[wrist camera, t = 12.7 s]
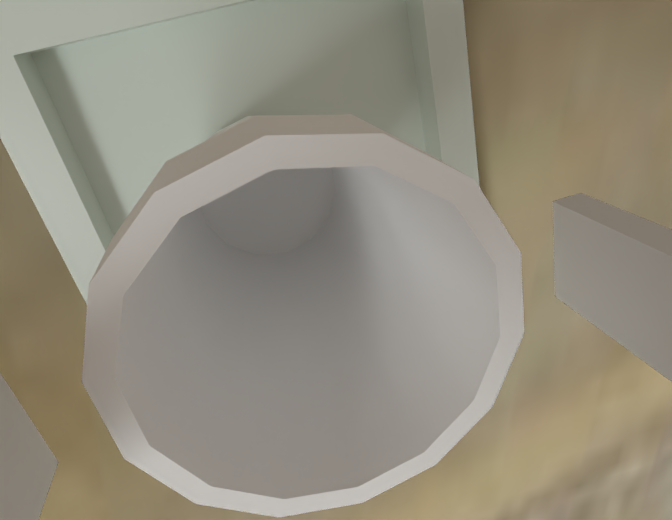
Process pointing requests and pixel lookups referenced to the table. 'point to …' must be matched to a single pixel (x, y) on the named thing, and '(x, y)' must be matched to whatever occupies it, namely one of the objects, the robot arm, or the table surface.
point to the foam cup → (300, 316)
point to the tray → (209, 90)
